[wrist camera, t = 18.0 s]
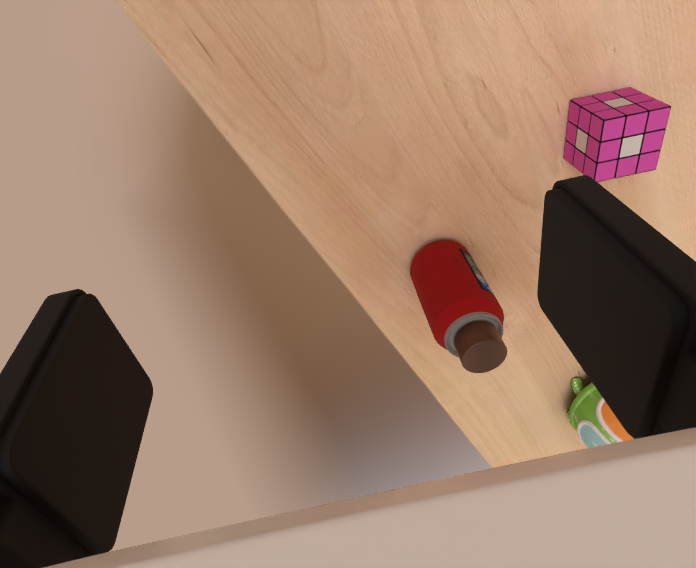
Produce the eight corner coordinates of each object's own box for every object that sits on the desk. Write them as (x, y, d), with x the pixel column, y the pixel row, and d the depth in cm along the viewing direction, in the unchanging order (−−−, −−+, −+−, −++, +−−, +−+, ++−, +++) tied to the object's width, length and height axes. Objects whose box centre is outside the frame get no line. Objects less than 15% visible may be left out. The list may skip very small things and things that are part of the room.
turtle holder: (569, 444, 78) (610, 516, 69) (555, 378, 68) (600, 452, 58) (646, 418, 77) (698, 488, 67) (643, 346, 66) (705, 417, 56)
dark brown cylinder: (454, 357, 45) (462, 377, 43) (452, 326, 42) (461, 346, 40) (496, 348, 45) (507, 367, 43) (497, 316, 42) (507, 335, 40)
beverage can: (462, 285, 55) (501, 361, 46) (405, 288, 55) (432, 366, 45) (473, 235, 51) (519, 306, 42) (411, 237, 51) (443, 310, 41)
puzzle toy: (631, 86, 44) (672, 105, 39) (619, 146, 47) (656, 170, 43) (569, 99, 44) (603, 120, 39) (562, 158, 47) (593, 183, 43)
